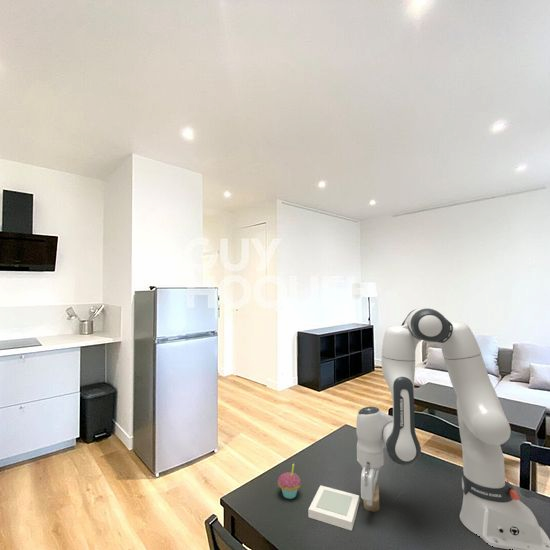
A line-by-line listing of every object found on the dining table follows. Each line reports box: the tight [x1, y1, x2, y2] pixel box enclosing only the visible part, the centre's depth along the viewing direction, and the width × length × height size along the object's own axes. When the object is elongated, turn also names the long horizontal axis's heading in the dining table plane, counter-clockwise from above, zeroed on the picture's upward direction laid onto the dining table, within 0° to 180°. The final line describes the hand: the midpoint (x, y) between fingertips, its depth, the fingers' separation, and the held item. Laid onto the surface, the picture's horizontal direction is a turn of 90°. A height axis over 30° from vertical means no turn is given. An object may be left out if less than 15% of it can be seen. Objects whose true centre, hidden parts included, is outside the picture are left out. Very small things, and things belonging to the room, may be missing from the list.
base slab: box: [307, 484, 360, 531], centre depth 103 cm, size 14×14×3 cm
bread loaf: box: [362, 482, 380, 513], centre depth 105 cm, size 5×5×7 cm
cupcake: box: [277, 462, 302, 500], centre depth 111 cm, size 9×8×12 cm
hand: (371, 498), depth 105 cm, fingers closed on bread loaf, 5 cm apart
